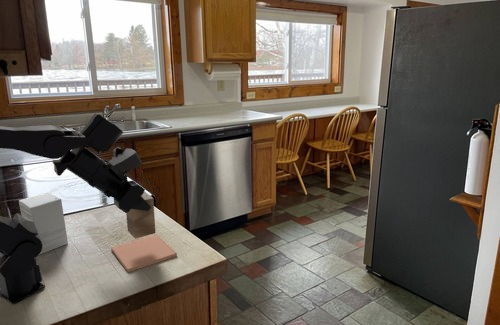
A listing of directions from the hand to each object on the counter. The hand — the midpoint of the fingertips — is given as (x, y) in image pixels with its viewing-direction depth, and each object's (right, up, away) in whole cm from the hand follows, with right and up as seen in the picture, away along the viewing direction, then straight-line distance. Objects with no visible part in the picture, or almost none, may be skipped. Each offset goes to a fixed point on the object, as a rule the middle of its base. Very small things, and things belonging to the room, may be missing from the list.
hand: (145, 205), depth 88 cm
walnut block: (-1, -7, +1) cm, 7 cm away
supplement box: (-27, -11, +6) cm, 30 cm away
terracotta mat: (-1, -12, +3) cm, 12 cm away
